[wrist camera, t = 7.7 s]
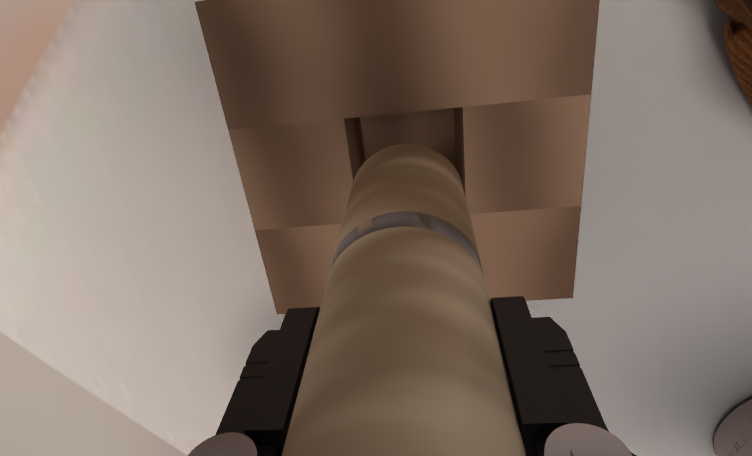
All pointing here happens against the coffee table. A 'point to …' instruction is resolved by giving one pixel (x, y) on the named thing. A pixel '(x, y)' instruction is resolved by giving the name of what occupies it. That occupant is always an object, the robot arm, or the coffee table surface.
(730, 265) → the coffee table surface
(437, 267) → the peg
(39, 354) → the coffee table surface
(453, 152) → the socket block
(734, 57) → the wooden carving
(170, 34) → the coffee table surface
